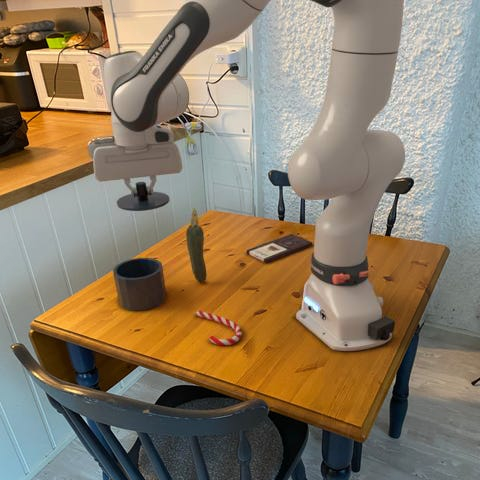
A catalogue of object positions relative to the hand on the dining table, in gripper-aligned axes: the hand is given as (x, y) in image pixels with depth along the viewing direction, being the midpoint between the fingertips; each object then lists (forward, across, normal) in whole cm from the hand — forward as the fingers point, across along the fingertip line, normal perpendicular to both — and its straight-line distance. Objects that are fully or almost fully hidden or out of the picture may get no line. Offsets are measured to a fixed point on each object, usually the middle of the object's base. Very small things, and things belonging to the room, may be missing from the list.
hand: (142, 195), depth 113 cm
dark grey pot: (+23, -4, -9) cm, 25 cm away
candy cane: (+23, +10, -28) cm, 38 cm away
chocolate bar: (+23, +38, +7) cm, 45 cm away
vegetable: (+23, +11, -6) cm, 26 cm away
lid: (+2, 0, 0) cm, 2 cm away
